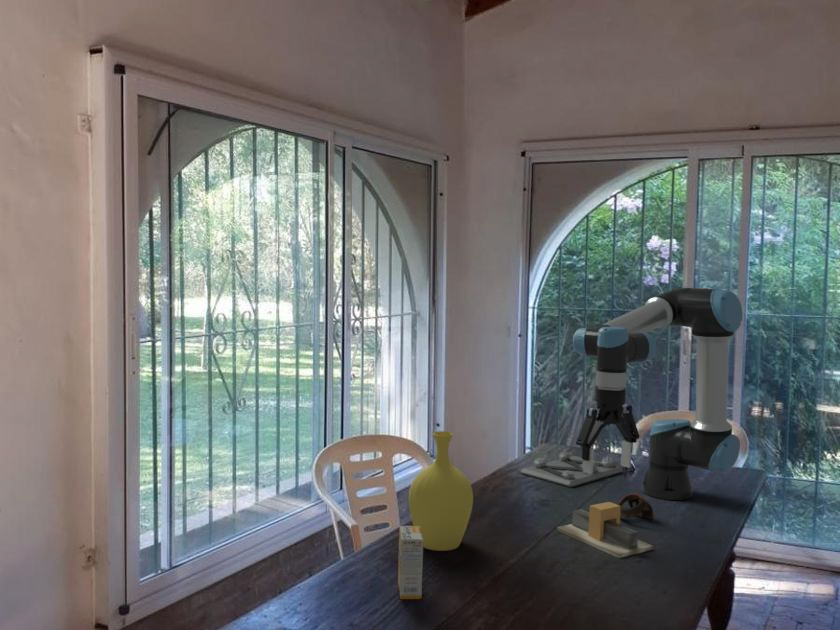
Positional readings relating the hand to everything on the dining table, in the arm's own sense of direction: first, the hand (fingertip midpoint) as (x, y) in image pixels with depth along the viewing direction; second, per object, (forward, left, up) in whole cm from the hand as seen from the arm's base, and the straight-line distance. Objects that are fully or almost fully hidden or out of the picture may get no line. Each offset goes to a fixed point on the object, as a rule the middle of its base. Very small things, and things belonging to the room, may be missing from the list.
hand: (607, 469), depth 207 cm
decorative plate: (-38, -52, -19) cm, 67 cm away
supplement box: (+61, +3, -19) cm, 64 cm away
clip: (0, 0, -17) cm, 17 cm away
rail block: (0, 0, -18) cm, 18 cm away
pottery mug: (-21, -8, -19) cm, 29 cm away
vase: (+39, -18, -19) cm, 47 cm away
